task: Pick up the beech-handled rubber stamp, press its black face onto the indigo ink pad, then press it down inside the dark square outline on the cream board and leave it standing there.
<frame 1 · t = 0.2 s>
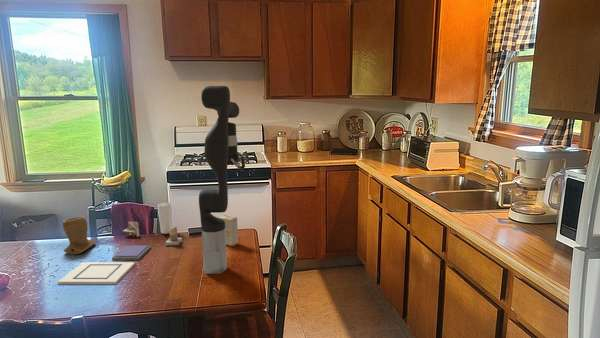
hand: (230, 176, 208), 29 cm above the table, fingers open, 8 cm apart
stamp: (174, 243, 198), on the table
marking board: (98, 273, 166), on the table
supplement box: (228, 244, 198), on the table
tall white block: (166, 232, 214), on the table
brown bookend: (78, 249, 192), on the table
architectural model: (133, 237, 210), on the table
ink pad: (132, 253, 186), on the table
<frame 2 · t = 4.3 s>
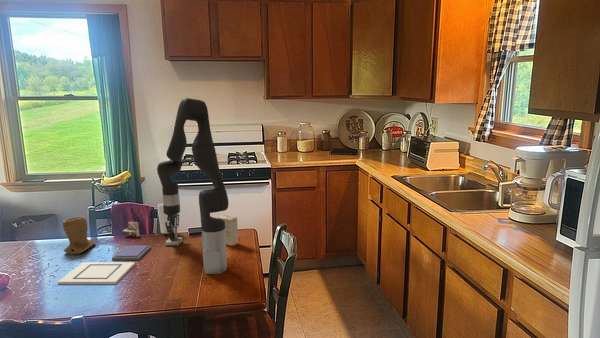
hand: (173, 238, 198), 3 cm above the table, fingers closed on stamp, 3 cm apart
stamp: (174, 243, 198), on the table, touching gripper
everything else where it was.
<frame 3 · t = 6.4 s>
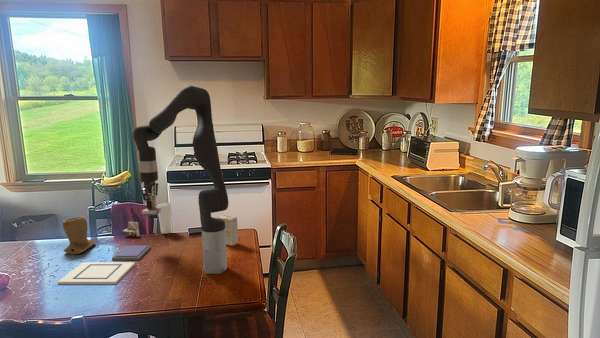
hand: (151, 207, 189), 19 cm above the table, fingers closed on stamp, 3 cm apart
stamp: (151, 213, 190), point 17 cm above the table, touching gripper
everything else where it was.
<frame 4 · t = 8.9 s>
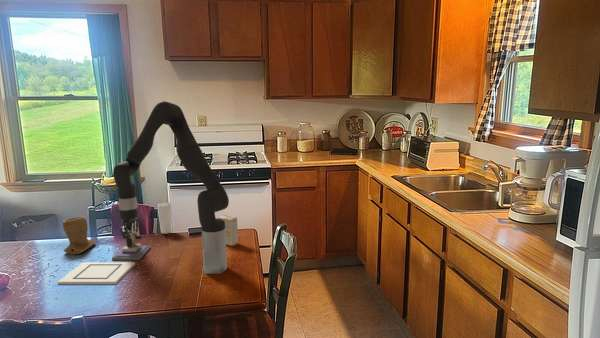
hand: (131, 244, 186), 4 cm above the table, fingers closed on stamp, 3 cm apart
stamp: (131, 250, 186), point 2 cm above the table, touching gripper, ink pad
everything else where it was.
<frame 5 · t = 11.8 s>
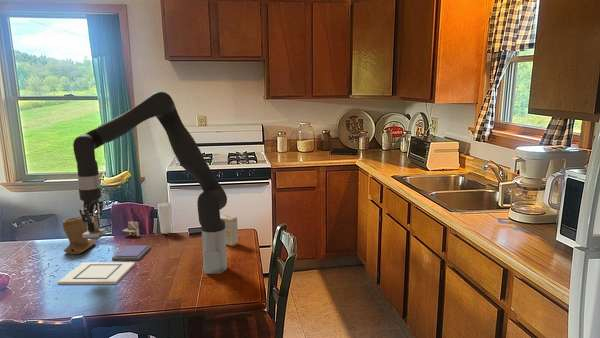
hand: (94, 229, 163), 18 cm above the table, fingers closed on stamp, 3 cm apart
stamp: (94, 236, 164), point 16 cm above the table, touching gripper
everything else where it was.
when the fingers open (4 cm above the table, at t = 13.7 s): stamp stays where it is, resting on marking board.
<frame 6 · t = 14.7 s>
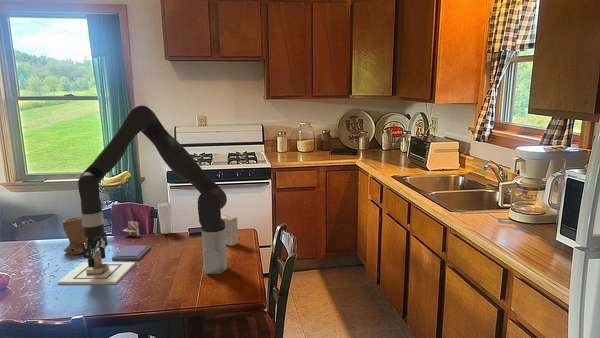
hand: (97, 262, 165), 5 cm above the table, fingers open, 8 cm apart
stamp: (97, 271, 166), point 1 cm above the table, touching marking board
everything else where it was.
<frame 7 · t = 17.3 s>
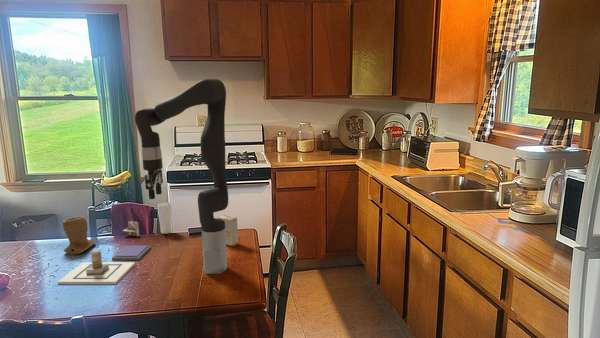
hand: (155, 196, 174), 28 cm above the table, fingers open, 8 cm apart
nothing on the table moved.
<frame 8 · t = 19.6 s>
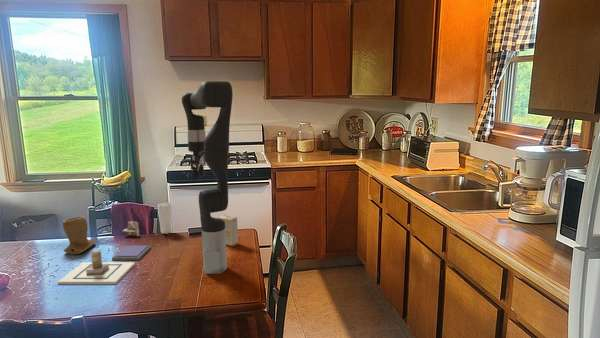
hand: (198, 176, 183), 34 cm above the table, fingers open, 8 cm apart
nothing on the table moved.
at the end: stamp inside the target area on the marking board (0.1 cm from its centre), point 1.0 cm above the marking board's base; stamp tilted 0°; the gripper is holding nothing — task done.
